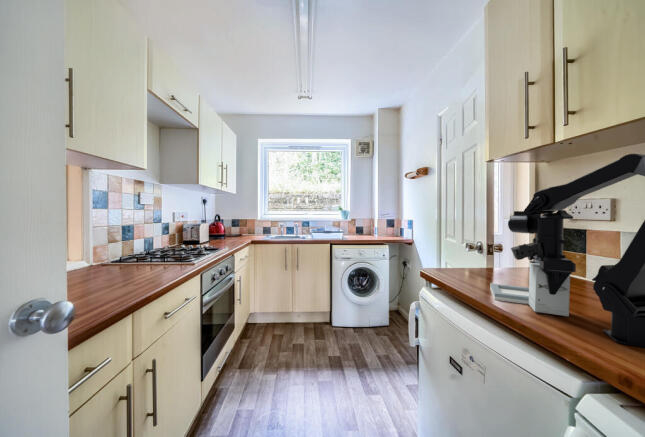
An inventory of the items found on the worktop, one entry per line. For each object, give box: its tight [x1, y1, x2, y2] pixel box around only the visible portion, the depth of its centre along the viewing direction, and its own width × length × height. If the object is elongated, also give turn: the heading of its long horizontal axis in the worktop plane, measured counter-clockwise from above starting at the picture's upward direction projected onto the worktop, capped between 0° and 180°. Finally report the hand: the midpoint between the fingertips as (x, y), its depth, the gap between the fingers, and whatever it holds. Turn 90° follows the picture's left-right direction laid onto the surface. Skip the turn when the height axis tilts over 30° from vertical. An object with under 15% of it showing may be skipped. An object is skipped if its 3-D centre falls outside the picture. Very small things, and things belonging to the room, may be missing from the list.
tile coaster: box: [489, 282, 529, 305], centre depth 86 cm, size 14×14×2 cm
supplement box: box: [528, 262, 571, 317], centre depth 73 cm, size 7×7×13 cm
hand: (548, 290), depth 73 cm, fingers closed on supplement box, 7 cm apart
